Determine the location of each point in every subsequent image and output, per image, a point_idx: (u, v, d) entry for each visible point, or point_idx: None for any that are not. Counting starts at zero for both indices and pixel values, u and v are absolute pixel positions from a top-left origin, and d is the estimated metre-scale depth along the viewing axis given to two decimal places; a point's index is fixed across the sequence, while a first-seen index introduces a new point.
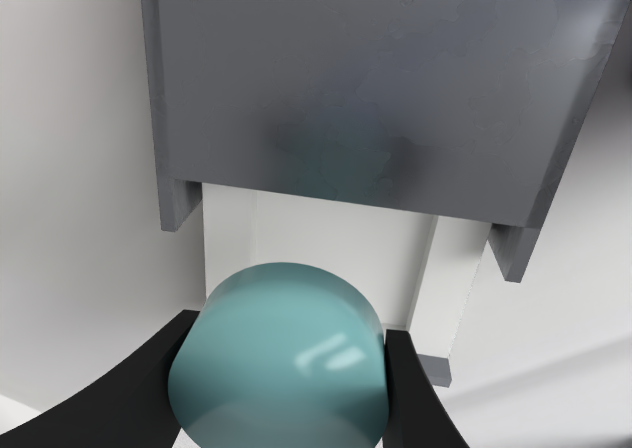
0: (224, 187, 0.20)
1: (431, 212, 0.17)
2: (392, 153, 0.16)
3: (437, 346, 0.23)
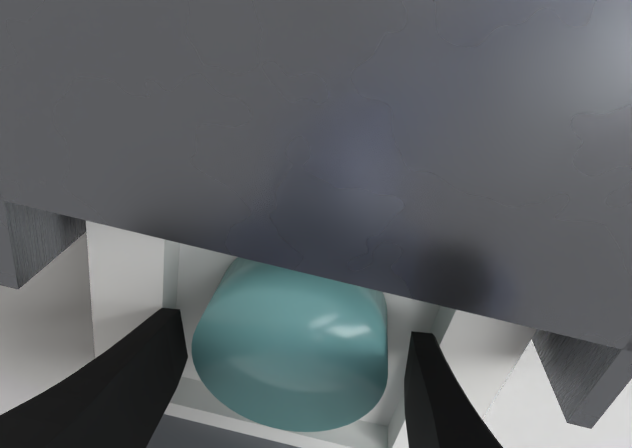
0: None
1: (462, 308, 0.10)
2: (408, 203, 0.09)
3: None
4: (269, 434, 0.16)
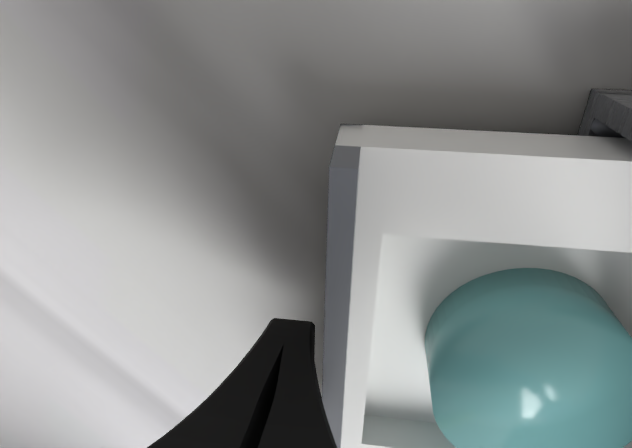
0: None
1: None
2: None
3: None
4: (357, 351, 0.13)
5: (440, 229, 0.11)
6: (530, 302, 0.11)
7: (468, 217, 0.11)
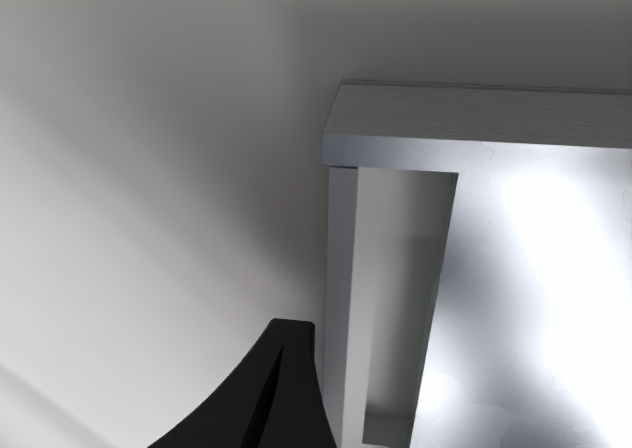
0: None
1: None
2: None
3: None
4: (357, 351, 0.14)
5: (440, 229, 0.11)
6: None
7: None
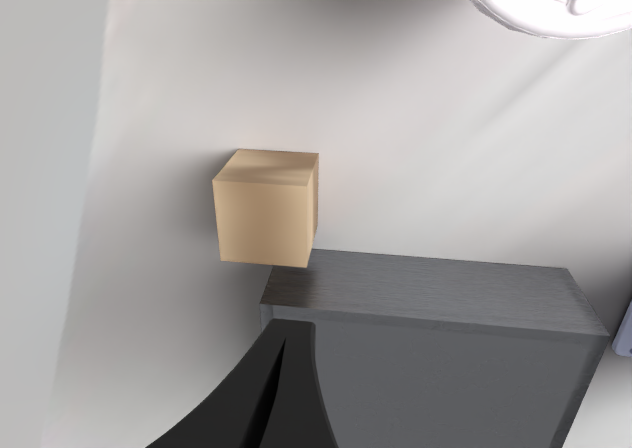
0: None
1: None
2: (439, 432, 0.23)
3: None
4: None
5: None
6: None
7: None
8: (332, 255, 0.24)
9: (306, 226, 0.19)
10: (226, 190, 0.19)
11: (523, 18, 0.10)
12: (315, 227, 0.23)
